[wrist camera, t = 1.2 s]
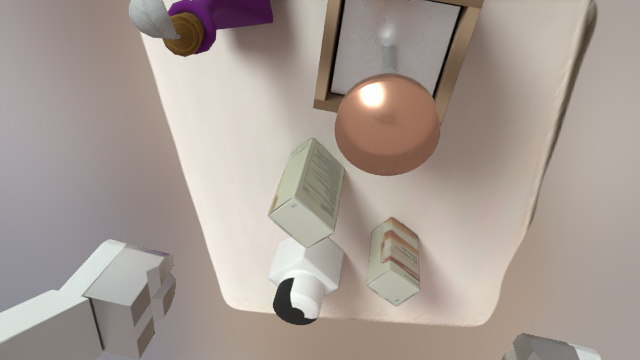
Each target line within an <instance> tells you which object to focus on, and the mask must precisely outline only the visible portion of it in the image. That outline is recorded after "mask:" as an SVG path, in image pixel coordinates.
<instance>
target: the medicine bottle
mask: <svg viewBox="0 0 640 360" xmlns="http://www.w3.org/2000/svg"><path fill="white" fill-rule="evenodd" d="M343 257H344V252H343V251H342V250H341V249H340V248H339V247H338V246H337V245H336V244H335V243H334V242H333V241H331V240H330V239H329V238H326V239H324V240H322V241H321V242H319V243H317V244H315V245H313V246H311V247H310V248H308V249H306V248H304V247H303V246H302V245H301V244H299V243H298V242H297V241H296V240H294V239H293V238H292V237H289V238H287V239H286V240H284V241H283V242H281V243H280V244H279V246H278V249H277V252H276V255H275V258H274V261H273V264H272V266H271V269H270V272H269V275H268V279H269V280H270V281H271V282H273V283H274V284H275V285H276V286H277V287H278V289H277V292H276V295H275V298H274V302H273V308H274V311H275V312H276V314H277V315H278V316H279V317H280V318H281V319H282V320H284V321H286V322H288V323H291V324H295V325H306V324H310V323H312V322H313V321H315V320H316V319H317V318H318V317H319V314H320V309H321V303H322V298H323V296H325V295H327V294H329V293H331V292H333V291H335V290H337V289H338V288H339V282H340V276H341V269H342V263H343Z"/></svg>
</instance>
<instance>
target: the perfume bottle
mask: <svg viewBox="0 0 640 360" xmlns="http://www.w3.org/2000/svg"><path fill="white" fill-rule="evenodd" d="M129 16H130V18H131V20H132V22H133V24H134V25H135V26H136V27H137V28H138V29H139V30H140V31H141V32H143V33H145V34H147V35H149V36H151V37H153V38H162V39H163V41H164V44H165V46H166V47H167V48H168V49H169V50H170V51H171V52H173V53H174V54H175V55H179V56H184V57H186V56H189V55H192V54H198V53H202V52H205V51H208V50H209V49H210V47H211V46H212V45H213V43H214V42H215V40H216V30H218V29H226V28H235V27H243V26H251V25H259V24H267V23H272V22H273V15H272V10H271V5H270V0H192V1H191V0H182V1H179V2H176V3H173V4H172V6H171V8H170V9H169V11H168V12H167V10H166V8H165V5H164V3H163V1H162V0H131V2H130V4H129Z"/></svg>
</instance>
